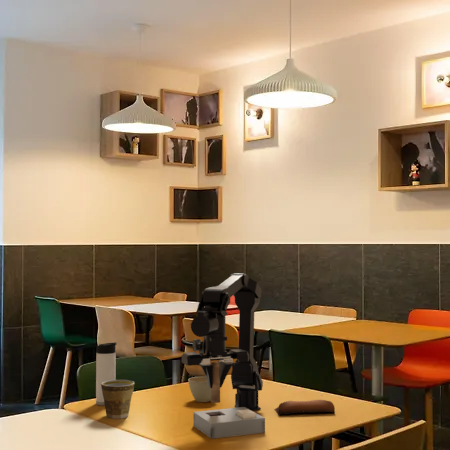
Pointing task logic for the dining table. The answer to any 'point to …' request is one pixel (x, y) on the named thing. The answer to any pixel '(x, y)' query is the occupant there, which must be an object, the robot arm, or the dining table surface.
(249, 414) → the on button
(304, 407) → the sunglasses case
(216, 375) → the tan rounded rod
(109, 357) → the travel mug
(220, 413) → the panel
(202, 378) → the flower pot
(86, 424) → the dining table surface
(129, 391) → the ceramic cup
